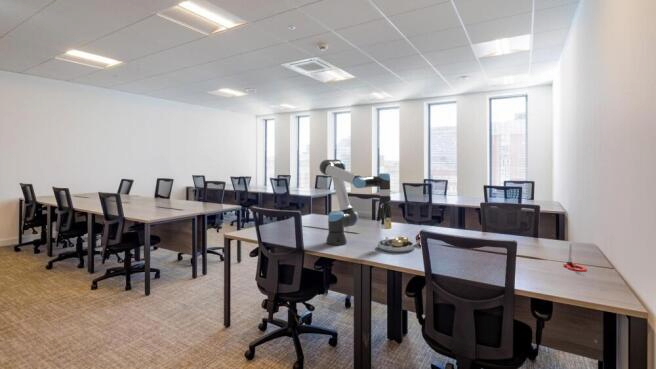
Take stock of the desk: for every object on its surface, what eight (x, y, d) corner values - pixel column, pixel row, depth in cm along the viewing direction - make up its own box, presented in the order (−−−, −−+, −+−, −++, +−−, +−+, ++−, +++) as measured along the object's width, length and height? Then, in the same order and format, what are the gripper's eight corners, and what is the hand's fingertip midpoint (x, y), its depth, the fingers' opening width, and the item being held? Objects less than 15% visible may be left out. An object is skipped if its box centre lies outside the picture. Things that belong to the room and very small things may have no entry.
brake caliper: (430, 239, 239) (431, 228, 231) (432, 251, 231) (433, 240, 223) (414, 238, 241) (415, 228, 233) (415, 250, 233) (416, 240, 225)
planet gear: (379, 228, 226) (378, 221, 226) (383, 227, 232) (383, 220, 232) (388, 229, 222) (388, 222, 222) (393, 227, 228) (392, 220, 228)
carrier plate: (372, 250, 221) (372, 239, 221) (386, 242, 242) (386, 232, 241) (407, 254, 208) (407, 243, 208) (418, 246, 229) (418, 236, 228)
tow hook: (590, 271, 172) (574, 265, 181) (592, 248, 170) (576, 243, 179) (576, 272, 171) (561, 266, 180) (577, 248, 169) (562, 243, 178)
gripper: (383, 196, 215) (384, 231, 217) (395, 194, 232) (396, 226, 233) (373, 196, 220) (374, 230, 221) (386, 194, 236) (386, 225, 237)
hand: (385, 227), depth 227 cm, fingers closed on planet gear, 7 cm apart
